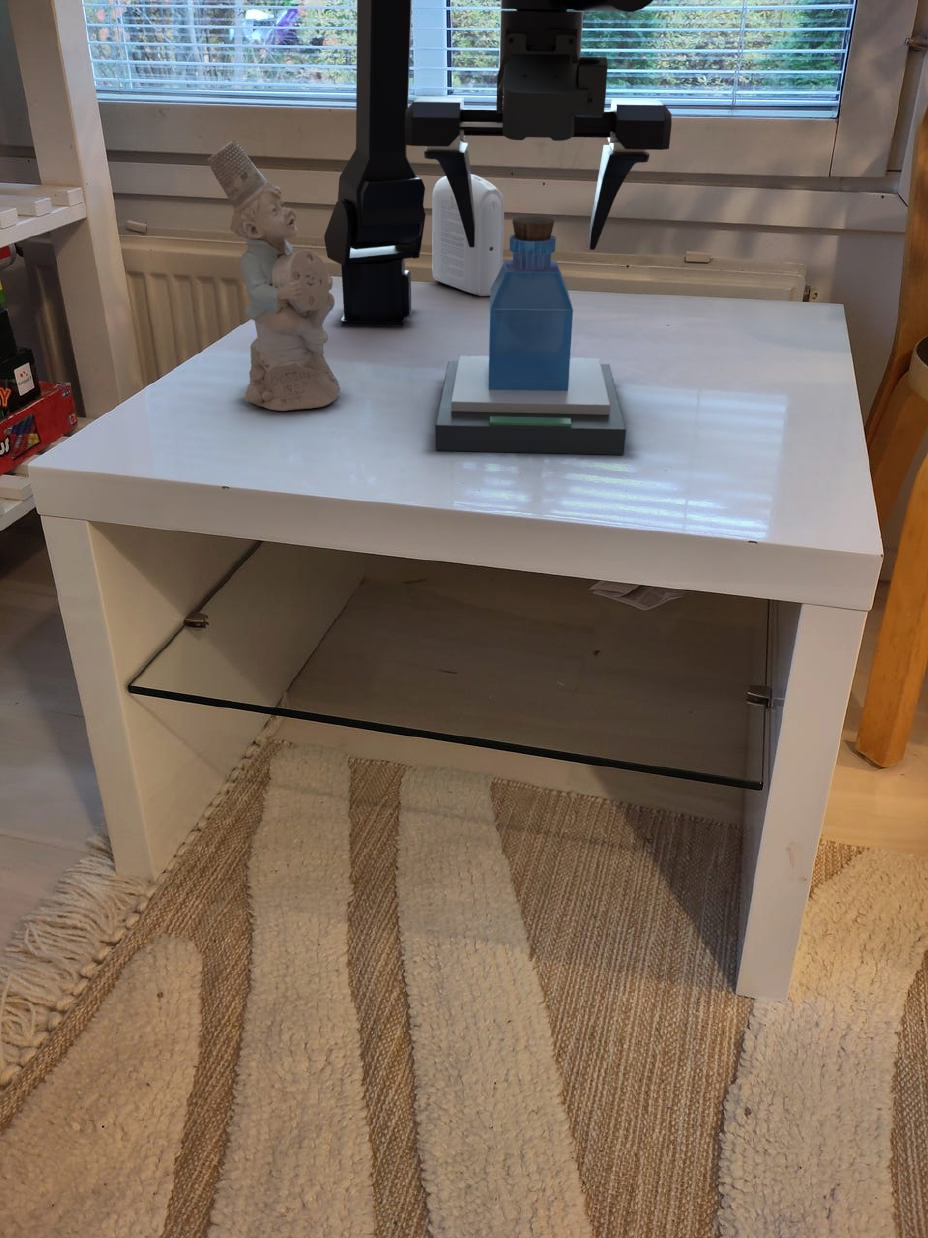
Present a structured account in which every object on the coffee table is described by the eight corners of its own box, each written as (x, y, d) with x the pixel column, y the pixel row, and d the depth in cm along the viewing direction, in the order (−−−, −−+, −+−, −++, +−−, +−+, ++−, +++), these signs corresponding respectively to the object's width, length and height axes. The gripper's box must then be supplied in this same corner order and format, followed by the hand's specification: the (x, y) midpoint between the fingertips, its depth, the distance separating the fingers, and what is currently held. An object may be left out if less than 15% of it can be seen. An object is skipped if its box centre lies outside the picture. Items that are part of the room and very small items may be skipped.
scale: (435, 450, 76) (435, 414, 74) (448, 383, 89) (448, 351, 88) (623, 455, 75) (627, 418, 74) (607, 386, 89) (610, 354, 87)
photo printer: (507, 293, 118) (510, 178, 111) (477, 298, 115) (479, 181, 109) (456, 276, 125) (456, 167, 118) (427, 281, 123) (426, 170, 116)
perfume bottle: (568, 390, 79) (578, 228, 73) (488, 389, 79) (491, 227, 73) (563, 366, 84) (572, 213, 78) (488, 365, 84) (491, 212, 78)
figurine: (217, 406, 84) (184, 139, 73) (274, 377, 90) (251, 129, 80) (309, 422, 81) (288, 146, 70) (361, 391, 87) (349, 134, 77)
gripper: (393, 10, 63) (399, 268, 71) (695, 13, 63) (666, 274, 71) (410, 9, 73) (414, 237, 81) (672, 11, 72) (649, 241, 80)
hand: (531, 247), depth 78 cm, fingers open, 9 cm apart
